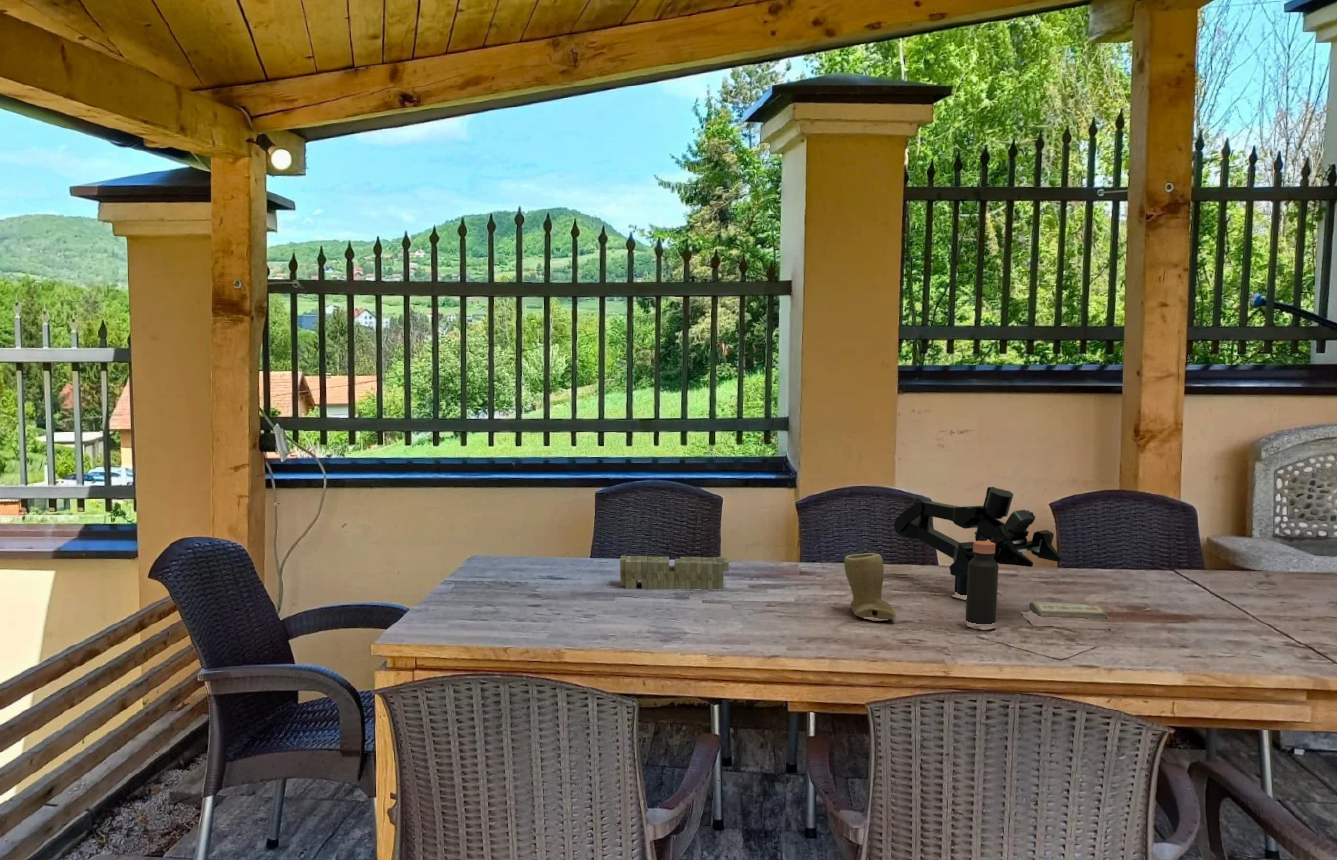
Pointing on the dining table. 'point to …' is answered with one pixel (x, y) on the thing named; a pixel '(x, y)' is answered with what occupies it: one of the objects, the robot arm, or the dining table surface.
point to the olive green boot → (867, 585)
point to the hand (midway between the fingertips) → (1046, 562)
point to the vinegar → (982, 584)
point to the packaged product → (1067, 610)
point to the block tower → (673, 572)
